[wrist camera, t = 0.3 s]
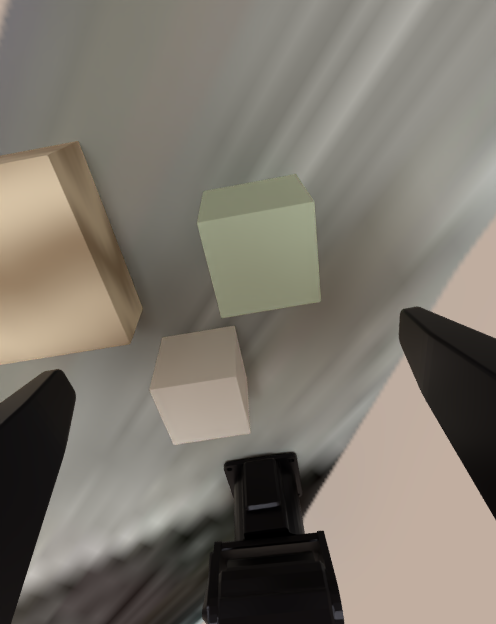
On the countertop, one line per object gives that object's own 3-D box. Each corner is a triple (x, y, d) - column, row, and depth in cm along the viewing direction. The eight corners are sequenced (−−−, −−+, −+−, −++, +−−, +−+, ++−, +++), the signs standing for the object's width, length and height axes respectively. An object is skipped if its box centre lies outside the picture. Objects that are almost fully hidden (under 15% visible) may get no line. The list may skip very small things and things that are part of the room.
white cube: (247, 378, 27) (250, 433, 23) (181, 388, 28) (173, 444, 23) (234, 324, 25) (236, 376, 20) (162, 336, 25) (149, 390, 21)
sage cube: (303, 258, 22) (320, 301, 18) (222, 272, 22) (221, 318, 18) (295, 173, 19) (314, 201, 15) (203, 190, 20) (197, 222, 15)
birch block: (143, 305, 24) (130, 344, 20) (-3, 329, 24) (-40, 371, 21) (80, 139, 18) (47, 155, 15) (-107, 175, 19) (-180, 197, 15)
